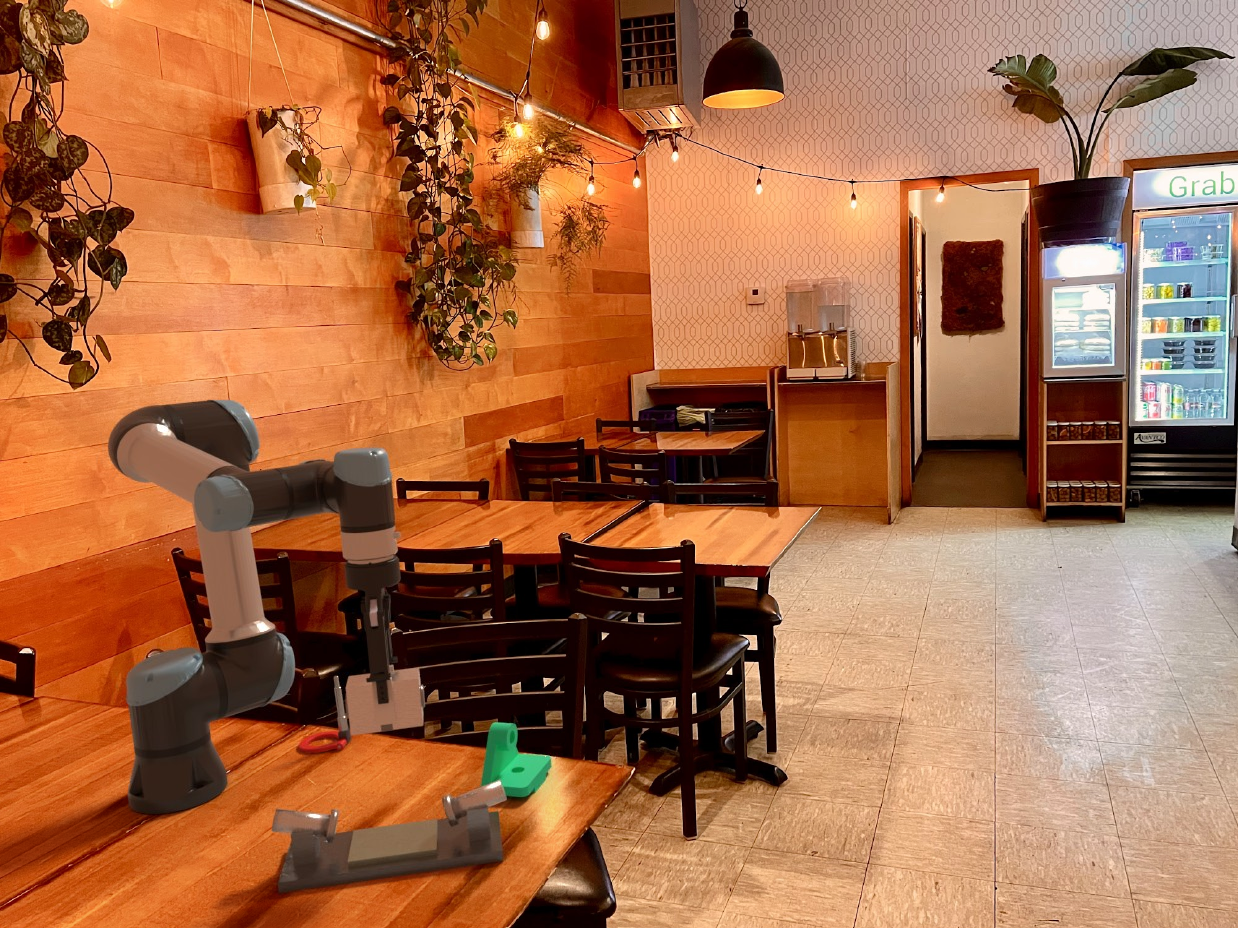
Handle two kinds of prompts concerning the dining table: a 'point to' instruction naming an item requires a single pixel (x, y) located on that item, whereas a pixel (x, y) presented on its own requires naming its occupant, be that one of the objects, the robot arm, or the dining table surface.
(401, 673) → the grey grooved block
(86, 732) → the dining table surface
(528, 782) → the camera mount
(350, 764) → the dining table surface
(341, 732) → the tow hook
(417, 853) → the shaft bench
